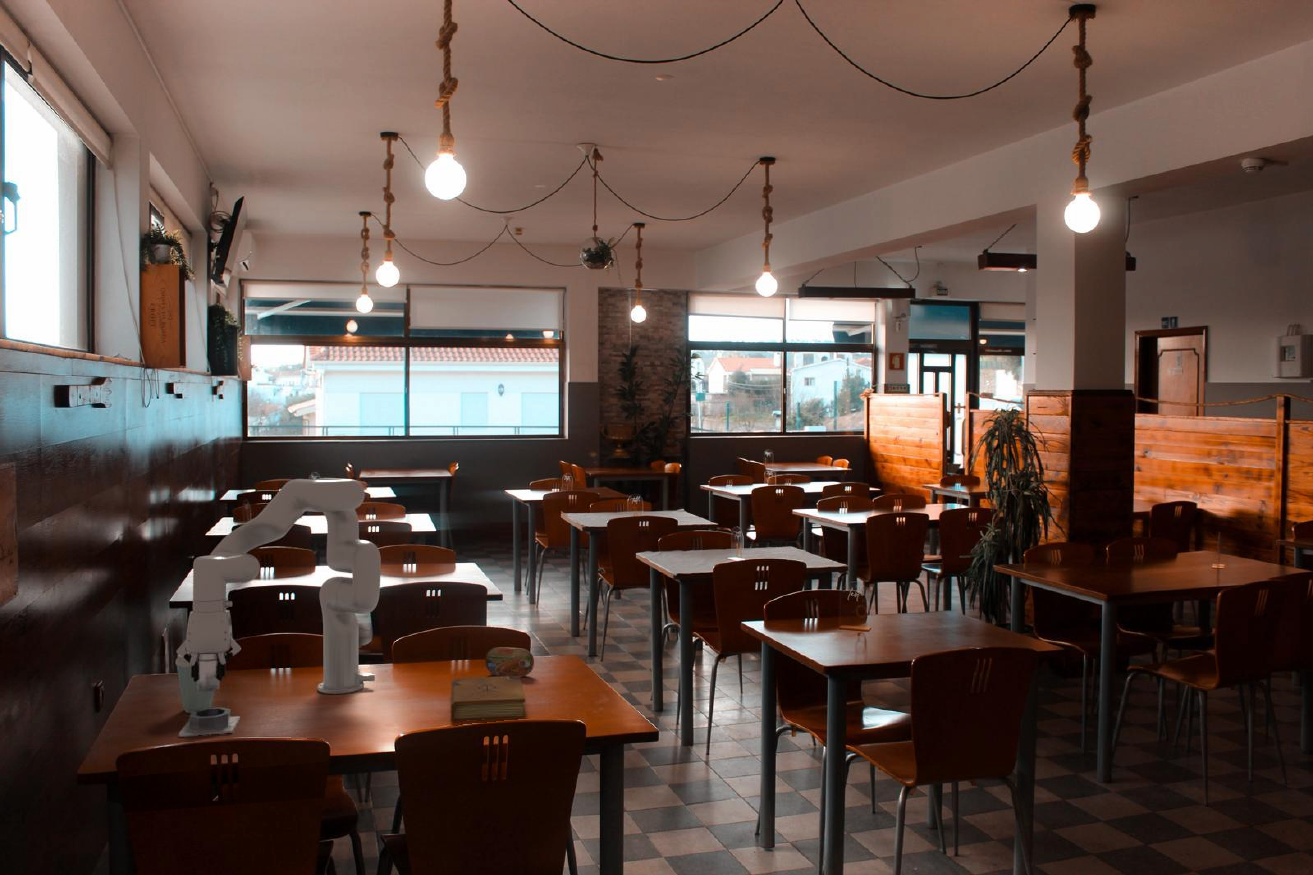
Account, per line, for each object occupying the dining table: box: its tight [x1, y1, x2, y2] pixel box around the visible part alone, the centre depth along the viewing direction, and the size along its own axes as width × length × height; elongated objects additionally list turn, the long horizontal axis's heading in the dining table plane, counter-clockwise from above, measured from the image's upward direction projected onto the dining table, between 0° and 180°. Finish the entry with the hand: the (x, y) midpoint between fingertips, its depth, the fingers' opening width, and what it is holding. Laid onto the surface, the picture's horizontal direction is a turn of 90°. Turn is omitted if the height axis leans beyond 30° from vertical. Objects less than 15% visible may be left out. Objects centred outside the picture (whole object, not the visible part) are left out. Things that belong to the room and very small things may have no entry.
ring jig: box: [178, 706, 241, 738], centre depth 257 cm, size 12×12×4 cm
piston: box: [197, 653, 221, 692], centre depth 256 cm, size 5×5×9 cm
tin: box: [485, 646, 535, 678], centre depth 309 cm, size 15×3×8 cm, turn 73°
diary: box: [450, 676, 526, 723], centre depth 276 cm, size 23×19×6 cm
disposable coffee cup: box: [175, 651, 215, 714], centre depth 272 cm, size 11×11×15 cm
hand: (208, 679), depth 256 cm, fingers closed on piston, 5 cm apart
